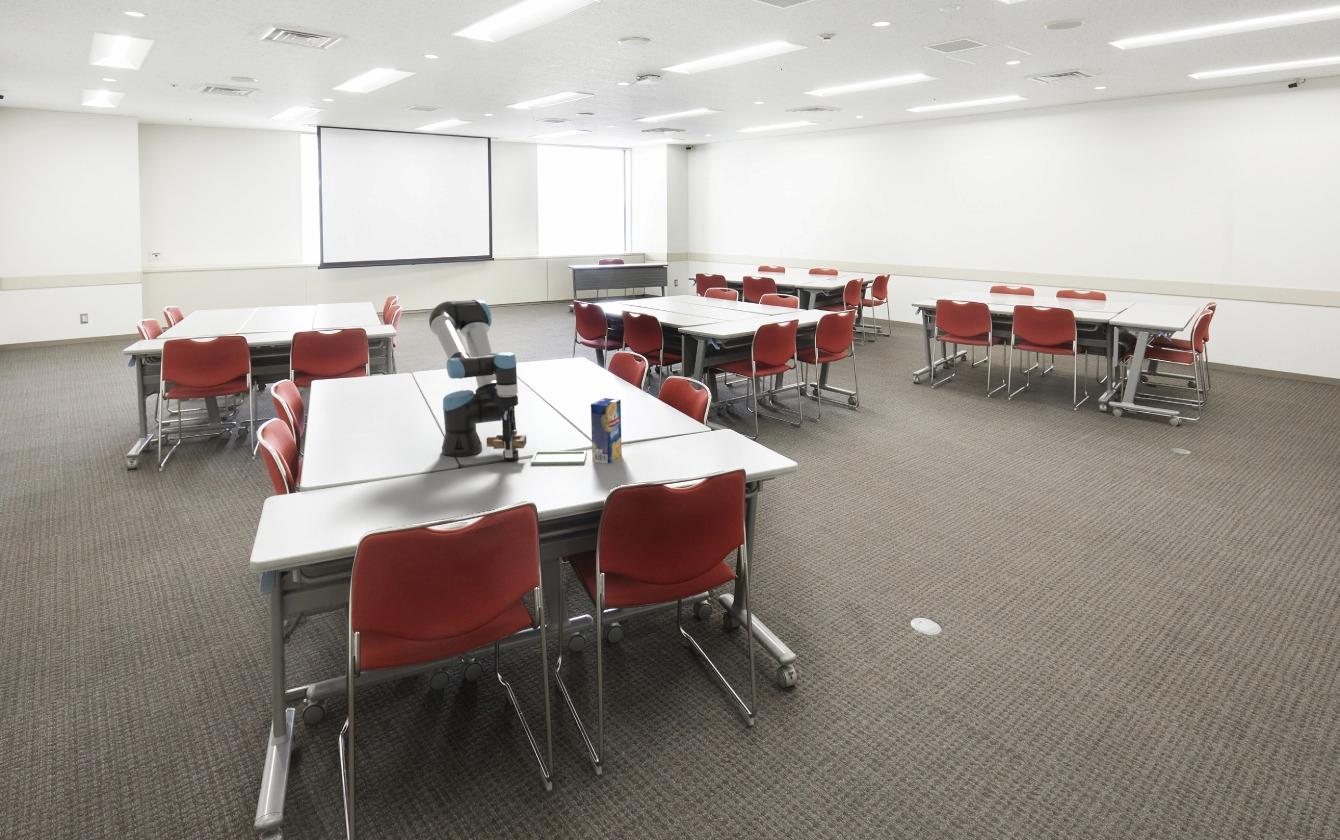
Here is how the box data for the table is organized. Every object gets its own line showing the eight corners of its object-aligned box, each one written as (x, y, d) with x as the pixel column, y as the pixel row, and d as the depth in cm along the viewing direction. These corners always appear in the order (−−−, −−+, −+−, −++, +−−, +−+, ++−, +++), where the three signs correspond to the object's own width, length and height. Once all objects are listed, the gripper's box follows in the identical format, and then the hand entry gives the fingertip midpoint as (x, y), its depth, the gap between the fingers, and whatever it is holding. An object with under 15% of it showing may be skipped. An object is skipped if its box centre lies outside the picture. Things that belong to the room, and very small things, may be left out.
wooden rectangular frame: (526, 442, 284) (526, 434, 283) (523, 448, 276) (523, 440, 276) (489, 442, 283) (488, 435, 282) (485, 448, 276) (484, 441, 275)
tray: (530, 465, 275) (530, 461, 275) (535, 454, 288) (535, 451, 287) (584, 464, 276) (584, 461, 275) (586, 453, 288) (586, 450, 288)
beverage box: (621, 455, 286) (620, 399, 281) (608, 463, 277) (607, 406, 271) (605, 453, 289) (604, 398, 283) (592, 461, 279) (590, 404, 274)
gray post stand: (502, 462, 278) (500, 432, 275) (504, 457, 284) (503, 428, 281) (517, 461, 279) (515, 432, 276) (519, 457, 284) (518, 428, 281)
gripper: (502, 388, 284) (505, 445, 290) (491, 401, 265) (495, 462, 271) (521, 388, 285) (524, 445, 291) (513, 401, 265) (516, 462, 271)
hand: (510, 453), depth 281 cm, fingers closed on wooden rectangular frame, 8 cm apart
